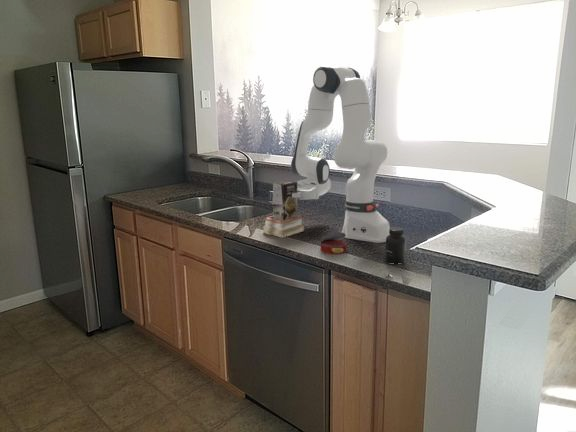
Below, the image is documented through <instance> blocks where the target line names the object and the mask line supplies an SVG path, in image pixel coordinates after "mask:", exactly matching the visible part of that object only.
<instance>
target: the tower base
mask: <svg viewBox="0 0 576 432" xmlns="http://www.w3.org/2000/svg"><path fill="white" fill-rule="evenodd" d="M302 219H303V217H302V215H299V214H297V217H294V218H290V219H287V220H283V221H280V220H275V219H273V215H270V216H268V217H265V219H264V221H265V222H264V223H265V224H264V226H262V227H263V229H262V230H263V234H265V235H266V234H267V235H271V236H273V237H277V236H278V238H281V237H282V238H283V237H284V238H286V236H287V237H289V236H292V235H295V234H299V233H301V232H304V231H305V230H304V227H305V226H304V224H303V223H302V221H303V220H302ZM284 238H283V239H284Z"/></svg>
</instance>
